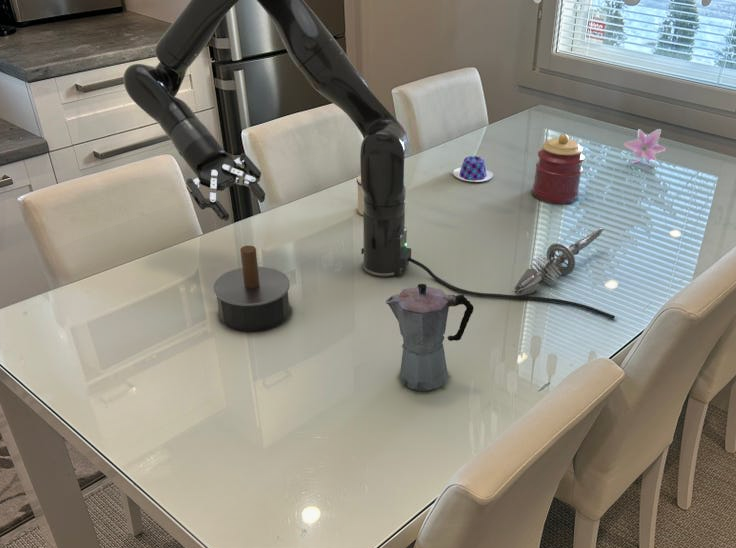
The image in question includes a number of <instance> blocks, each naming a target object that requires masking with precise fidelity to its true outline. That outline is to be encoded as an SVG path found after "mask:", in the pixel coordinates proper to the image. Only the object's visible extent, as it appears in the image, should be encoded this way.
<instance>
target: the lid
mask: <svg viewBox="0 0 736 548" xmlns="http://www.w3.org/2000/svg"><path fill="white" fill-rule="evenodd" d="M239 251H240V260H241V267H239V268H235V269H232V270H229V271H226V272H225V273H223V274H222V275H220V276H219V277H217V279H216V280H215V281H214V284H213V293H214V294H215V296H216V298H217V297H218V298H219V299H220V300H222V301H224V302H226V303H229V304H233V305H238V306H257V305H263V304H267V303H271V302H273V301H276V300H278V299H280V298H281V297H283V296H284V295H285V294H286V293H287V292H288V293H289V290H290V286H291V284H290V282H291V281H290V279H289V277H288V276H287V275H286V274H285V273H283V272H282V271H281V270H278V269H275V268H272V267H268V266H267V267H266V266H259V265H258V256H257V247H255V246H253V245H244V246H241V248H240V249H239Z"/></svg>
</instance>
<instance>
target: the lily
mask: <svg viewBox="0 0 736 548" xmlns="http://www.w3.org/2000/svg"><path fill="white" fill-rule="evenodd" d="M661 133H662V129H661V128H658V129H655V130H653V131H652V132H649V133H648V134H647V133H645V132H644V131H643V130H642V129H640V128H638V129H637V136H636V137H637V139H632V140H628V141H626V142H624V143H623V146H624V147H625V148H627V149H629V150H631V151H632V152H634V155H633V157H634V156H637V157H643V158H642V159H644V158H645V159H653V160H656V158H657V154H659V153H662V152H665V151H667V149H666V147H664V146H663V145H661V144H659V140H660V136H661ZM656 161H657V160H656ZM637 162H640V160H633V159H632V164H636V163H637ZM646 163H648V162H646ZM648 165H649V166H651V165H652V164H650V163H648ZM653 166H654V167H655V166H656V164H655V165H652V166H651V167H652V168H654V167H653Z"/></svg>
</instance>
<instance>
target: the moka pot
mask: <svg viewBox="0 0 736 548" xmlns="http://www.w3.org/2000/svg"><path fill="white" fill-rule="evenodd" d="M384 302H385V304H386V305H388V307H389V308H390V310H391V311H392V313H393V315H394V317H395V318H396V320H397V322H398V326H399V331H400V332H399V333H400V335H401V337H402V344H401V348H402V353H401V361H400V362H401V363H400V371H399V378H400V381H401V383H402V384H403V385H404V386H405V387H407V388H408V389H411V390H414V391H419V392H424V391H432V390H436V389H438V388H440V387H442V386H443V385H444V384H445V383H446V382H447V380H448V377H449V372H448V365H447V360H446V353H445V348H444V343H443V342H444V340H445V336H444V335H445V334H446V329H447V322H448V316H449V308H450V307H454V308H455V307H457V306H459V305H464V307H465V310H464V313H463V316H462V318H461V321H460V325H459V327H458V330H457V331H456V334H454V335H448V336H447V340H448V341H449V342H453V341H460V340H461V339H462V338H463V335H464V334H465V330H466V329H467V325H468V323H469V321H470V318H471V316H472V314H473V313H474V305H473V304H472V303H471V301H470V300H468V299H467V297H465V294H457V295H455V294H446V293H445V292H444V291H443V290H442V289H441V288H437V287H433V286H429V285H427V284H425V283H419V284H418V285H417V286H412V287H408V288H403V289H402V290H401V291H400V292H399V293H397V294H394V295H390V296H389V297H387V299H385V301H384Z"/></svg>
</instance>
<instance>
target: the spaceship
mask: <svg viewBox="0 0 736 548" xmlns="http://www.w3.org/2000/svg"><path fill="white" fill-rule="evenodd" d="M603 231H604V228H603V227H600V228H598V229H597V230H594V231H592V232H591V233H590V234H587V235H585V236H583V237H582V238H580V239H578V240H576V241H575V242H573V243H571V244H570V245H569V246H567V245H565V244H563V243H559V242H556V243H552V244H550V245H549V247H548V248H547V250H546V257H545V256H544V255H542V254H539V255H538V256H536V257H535V258H533V259H532V260H533V261H534V262H533V263H532V264H530V265H529V268H527V269H526V270H525V272H524V273H523V275H522V276H521V277H520V279H519V280H518V282H517V284H516V285H515V286H514V289H513V290H512V293H515V295H516V296H518V295H520V296H526V295H528V294H533V293H535V291H536V289H537V287H538V284H539V282H542V281H544V282H545V283H547V284H548V285H549V286H552V285H553V284H555V283H556V282H557V281H559V279H558V278H559V276H562V275H565V276H566V275H570V274H571V273H573V272H574V270H575V268H576V258H575V256H577V255H579V253H580V251H582V250H583V249H585V248H587V247H588V246H589V245H590V244H591V243H593V242H594V241H595V240H596V239H597V238H598V237H600V236H601V234H602V232H603ZM556 252H558V254H557V253H556ZM566 261H567V262H566ZM564 265H566V266H564Z"/></svg>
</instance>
